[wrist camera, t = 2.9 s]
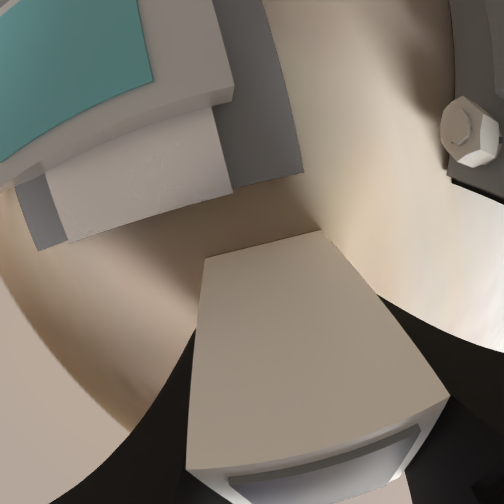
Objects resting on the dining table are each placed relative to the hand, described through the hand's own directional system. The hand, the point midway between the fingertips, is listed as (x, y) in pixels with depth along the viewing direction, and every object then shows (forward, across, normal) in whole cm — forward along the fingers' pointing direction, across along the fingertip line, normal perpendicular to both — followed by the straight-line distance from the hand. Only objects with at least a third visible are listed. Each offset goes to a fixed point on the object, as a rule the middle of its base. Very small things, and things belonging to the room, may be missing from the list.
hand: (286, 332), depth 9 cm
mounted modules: (0, +3, -15) cm, 15 cm away
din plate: (+2, +3, -15) cm, 15 cm away
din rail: (+2, +3, -15) cm, 15 cm away
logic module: (+2, 0, 0) cm, 2 cm away
